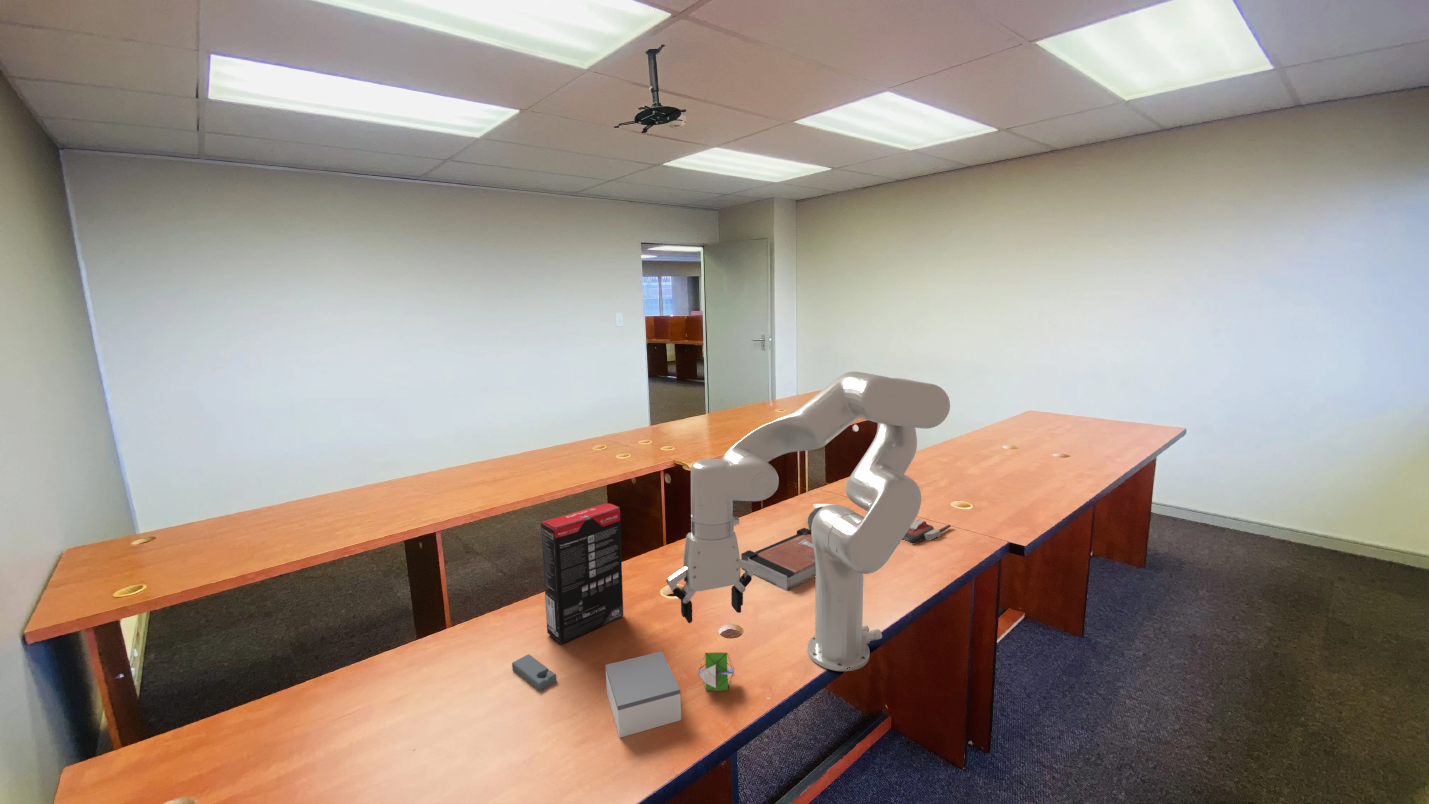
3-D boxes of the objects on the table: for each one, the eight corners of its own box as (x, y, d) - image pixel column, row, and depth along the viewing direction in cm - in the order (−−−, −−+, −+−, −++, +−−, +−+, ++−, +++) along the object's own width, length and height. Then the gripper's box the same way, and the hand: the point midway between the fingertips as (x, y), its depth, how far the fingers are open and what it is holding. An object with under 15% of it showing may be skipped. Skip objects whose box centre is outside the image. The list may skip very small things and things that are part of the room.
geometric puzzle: (700, 659, 114) (697, 644, 108) (734, 658, 113) (733, 644, 107) (699, 698, 109) (696, 685, 103) (735, 698, 108) (734, 684, 103)
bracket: (529, 661, 118) (528, 653, 118) (557, 683, 111) (556, 673, 111) (512, 671, 115) (511, 662, 115) (539, 693, 109) (538, 684, 108)
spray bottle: (808, 534, 179) (806, 508, 203) (843, 536, 178) (838, 509, 202) (808, 526, 179) (806, 500, 203) (843, 527, 177) (838, 501, 201)
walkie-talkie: (918, 548, 167) (952, 530, 179) (919, 534, 166) (953, 517, 179) (892, 539, 174) (927, 523, 186) (892, 526, 173) (927, 510, 185)
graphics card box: (610, 606, 139) (604, 499, 134) (627, 616, 134) (621, 506, 129) (546, 635, 127) (537, 519, 122) (562, 648, 122) (553, 528, 117)
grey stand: (663, 679, 111) (661, 651, 110) (681, 720, 100) (680, 689, 99) (607, 693, 107) (605, 664, 106) (619, 737, 96) (617, 706, 95)
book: (789, 593, 143) (789, 575, 143) (741, 570, 156) (741, 553, 156) (851, 561, 160) (851, 544, 159) (803, 543, 173) (803, 527, 172)
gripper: (747, 514, 110) (746, 596, 112) (660, 526, 104) (662, 613, 106) (763, 528, 103) (763, 615, 105) (672, 542, 97) (673, 634, 99)
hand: (712, 614), depth 106 cm, fingers open, 9 cm apart
